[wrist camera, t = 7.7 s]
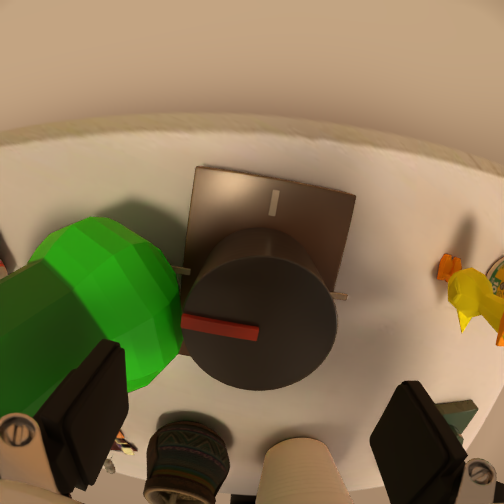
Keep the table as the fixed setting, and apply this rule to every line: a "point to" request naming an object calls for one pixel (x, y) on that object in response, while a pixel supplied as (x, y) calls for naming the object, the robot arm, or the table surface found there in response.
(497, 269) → the supplement bottle
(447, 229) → the table surface
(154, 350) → the plastic bottle
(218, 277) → the dial knob
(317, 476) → the cup
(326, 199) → the brown dial base plate
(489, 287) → the toy figure
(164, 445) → the yerba mate gourd
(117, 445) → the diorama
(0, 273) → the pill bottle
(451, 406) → the button box
